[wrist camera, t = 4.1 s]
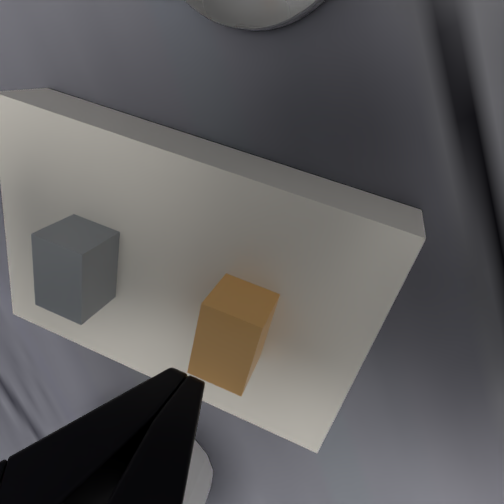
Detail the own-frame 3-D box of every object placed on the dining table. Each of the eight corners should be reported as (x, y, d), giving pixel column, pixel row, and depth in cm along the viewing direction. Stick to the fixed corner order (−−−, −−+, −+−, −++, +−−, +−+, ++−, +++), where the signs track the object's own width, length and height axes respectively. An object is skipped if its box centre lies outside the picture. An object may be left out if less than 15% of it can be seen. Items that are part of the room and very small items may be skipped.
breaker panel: (53, 288, 16) (-27, 339, 13) (47, 87, 13) (-67, 95, 10) (327, 406, 14) (307, 500, 11) (421, 209, 10) (431, 271, 7)
